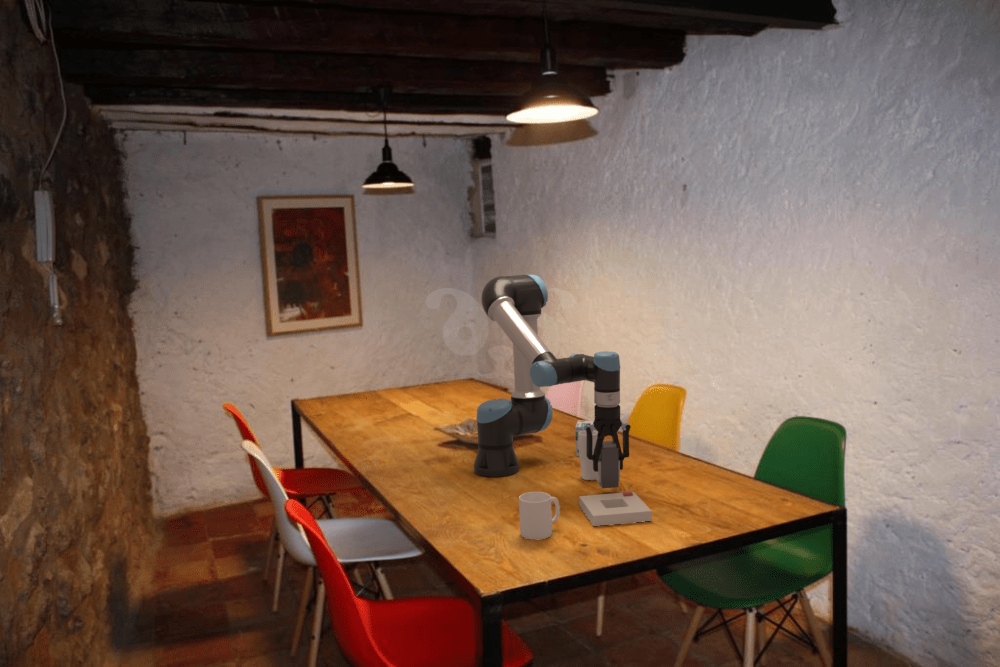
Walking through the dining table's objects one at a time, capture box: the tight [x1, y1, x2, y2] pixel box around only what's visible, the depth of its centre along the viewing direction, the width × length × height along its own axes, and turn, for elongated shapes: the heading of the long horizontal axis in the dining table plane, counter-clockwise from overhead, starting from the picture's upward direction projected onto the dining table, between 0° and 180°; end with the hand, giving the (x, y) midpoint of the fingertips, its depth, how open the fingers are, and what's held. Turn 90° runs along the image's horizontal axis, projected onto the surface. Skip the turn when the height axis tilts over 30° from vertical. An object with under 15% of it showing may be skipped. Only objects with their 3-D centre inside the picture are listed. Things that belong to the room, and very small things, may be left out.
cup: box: [518, 491, 561, 541], centre depth 194 cm, size 8×12×10 cm
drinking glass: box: [578, 430, 598, 481], centre depth 237 cm, size 7×7×15 cm
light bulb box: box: [574, 419, 597, 457], centre depth 267 cm, size 11×7×11 cm, turn 168°
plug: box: [597, 440, 620, 489], centre depth 222 cm, size 5×5×13 cm
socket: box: [578, 490, 653, 527], centre depth 206 cm, size 16×16×4 cm
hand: (608, 480), depth 222 cm, fingers closed on plug, 5 cm apart
